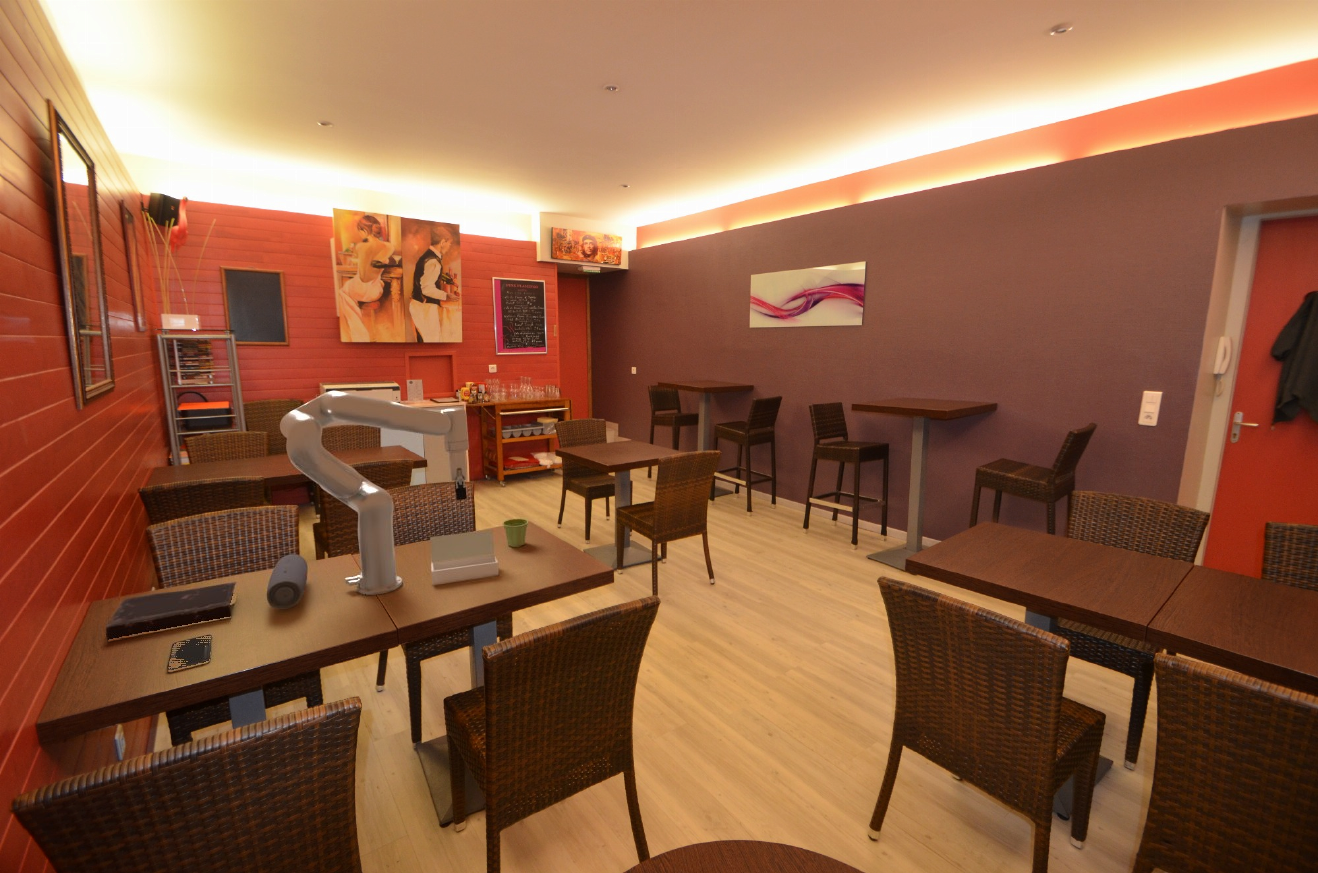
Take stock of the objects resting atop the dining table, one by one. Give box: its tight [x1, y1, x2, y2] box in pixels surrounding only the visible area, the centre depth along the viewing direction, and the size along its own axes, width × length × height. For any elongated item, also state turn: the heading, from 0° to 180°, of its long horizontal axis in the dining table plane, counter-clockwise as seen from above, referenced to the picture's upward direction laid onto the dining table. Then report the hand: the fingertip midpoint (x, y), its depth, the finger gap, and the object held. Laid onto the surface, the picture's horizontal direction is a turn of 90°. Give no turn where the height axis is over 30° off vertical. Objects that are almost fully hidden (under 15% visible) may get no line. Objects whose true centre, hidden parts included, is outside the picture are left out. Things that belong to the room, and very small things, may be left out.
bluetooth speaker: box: [266, 553, 309, 610], centre depth 168 cm, size 23×9×10 cm, turn 28°
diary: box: [105, 581, 237, 640], centre depth 156 cm, size 19×25×5 cm
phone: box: [166, 634, 213, 671], centre depth 138 cm, size 8×1×15 cm
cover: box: [429, 529, 495, 562], centre depth 188 cm, size 20×8×1 cm
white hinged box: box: [430, 553, 500, 586], centre depth 184 cm, size 20×8×4 cm, turn 113°
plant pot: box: [502, 518, 529, 548], centre depth 213 cm, size 9×9×9 cm
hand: (461, 495), depth 191 cm, fingers open, 9 cm apart
